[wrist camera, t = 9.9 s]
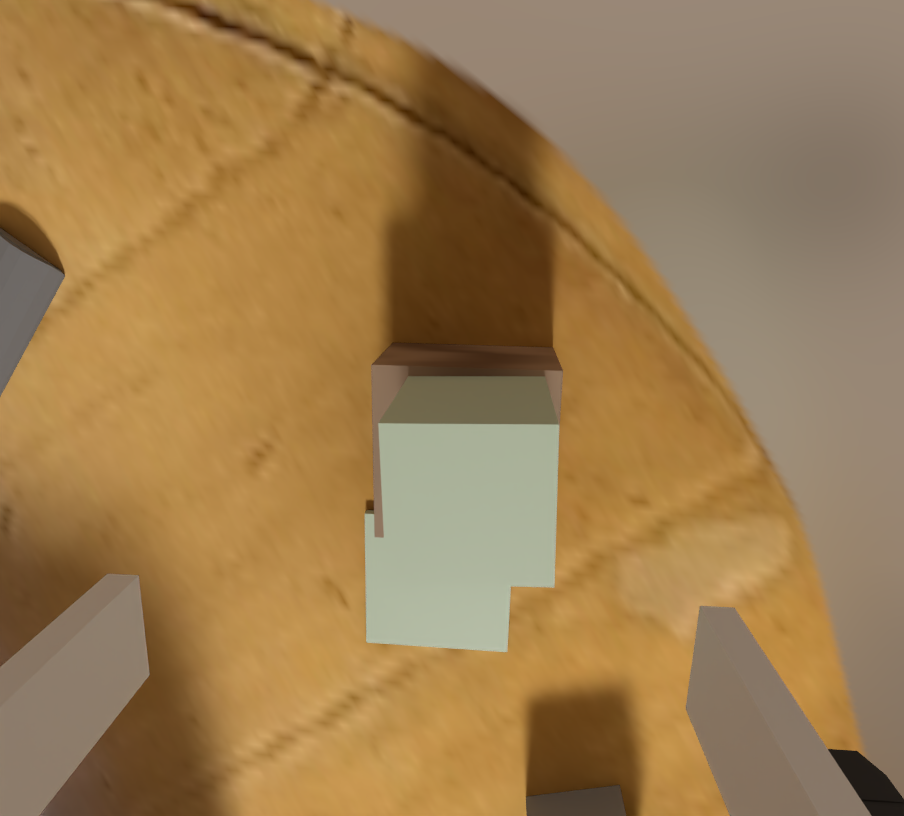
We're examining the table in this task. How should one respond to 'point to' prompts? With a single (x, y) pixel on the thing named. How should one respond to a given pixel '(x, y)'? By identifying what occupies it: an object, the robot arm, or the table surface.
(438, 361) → the walnut base
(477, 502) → the sage block
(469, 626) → the tile
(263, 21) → the table surface
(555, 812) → the gray block
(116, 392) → the table surface
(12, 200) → the table surface
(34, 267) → the slim gray ramp strip
